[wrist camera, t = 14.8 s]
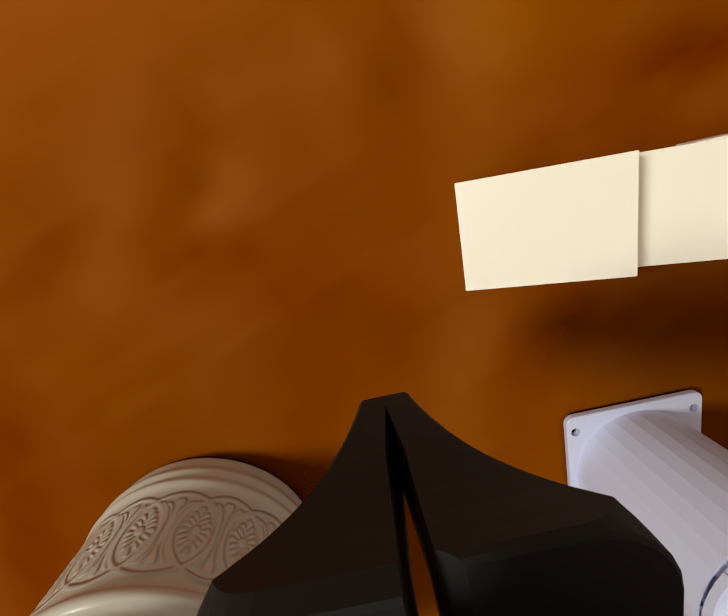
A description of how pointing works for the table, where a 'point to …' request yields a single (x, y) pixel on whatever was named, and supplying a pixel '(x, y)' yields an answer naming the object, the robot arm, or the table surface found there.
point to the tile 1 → (551, 224)
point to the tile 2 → (683, 203)
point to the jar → (170, 540)
